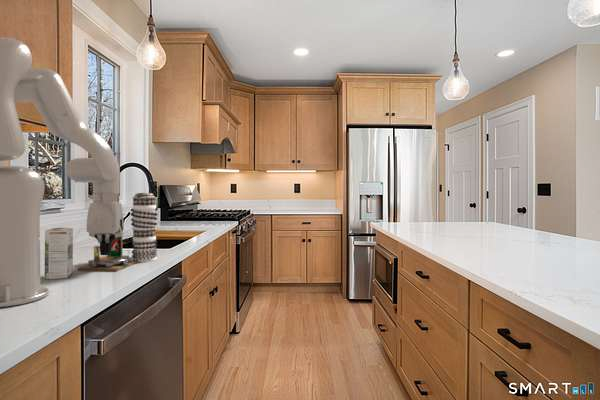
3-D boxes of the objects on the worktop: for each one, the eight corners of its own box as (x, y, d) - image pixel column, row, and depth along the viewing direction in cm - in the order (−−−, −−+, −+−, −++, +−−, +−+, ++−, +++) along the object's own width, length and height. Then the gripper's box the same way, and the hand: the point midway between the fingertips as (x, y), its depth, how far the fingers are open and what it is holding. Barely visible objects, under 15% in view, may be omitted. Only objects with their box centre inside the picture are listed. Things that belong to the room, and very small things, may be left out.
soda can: (125, 259, 125) (125, 227, 124) (116, 262, 120) (116, 229, 119) (112, 258, 125) (112, 227, 125) (103, 261, 120) (103, 228, 120)
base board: (116, 271, 106) (116, 268, 106) (77, 270, 107) (77, 268, 107) (138, 262, 119) (138, 260, 119) (103, 261, 120) (103, 259, 120)
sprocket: (87, 268, 105) (87, 249, 105) (89, 260, 116) (88, 243, 116) (134, 264, 112) (134, 246, 111) (131, 257, 123) (131, 240, 123)
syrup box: (50, 275, 101) (50, 227, 100) (73, 273, 103) (73, 227, 103) (44, 280, 95) (43, 230, 95) (68, 278, 98) (68, 229, 97)
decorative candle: (139, 256, 129) (138, 192, 128) (162, 257, 129) (162, 193, 128) (125, 261, 120) (125, 193, 119) (150, 262, 119) (150, 193, 119)
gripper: (76, 198, 105) (75, 256, 105) (122, 199, 105) (121, 257, 105) (91, 198, 113) (91, 252, 113) (134, 199, 112) (134, 253, 112)
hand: (105, 254), depth 109 cm, fingers closed
